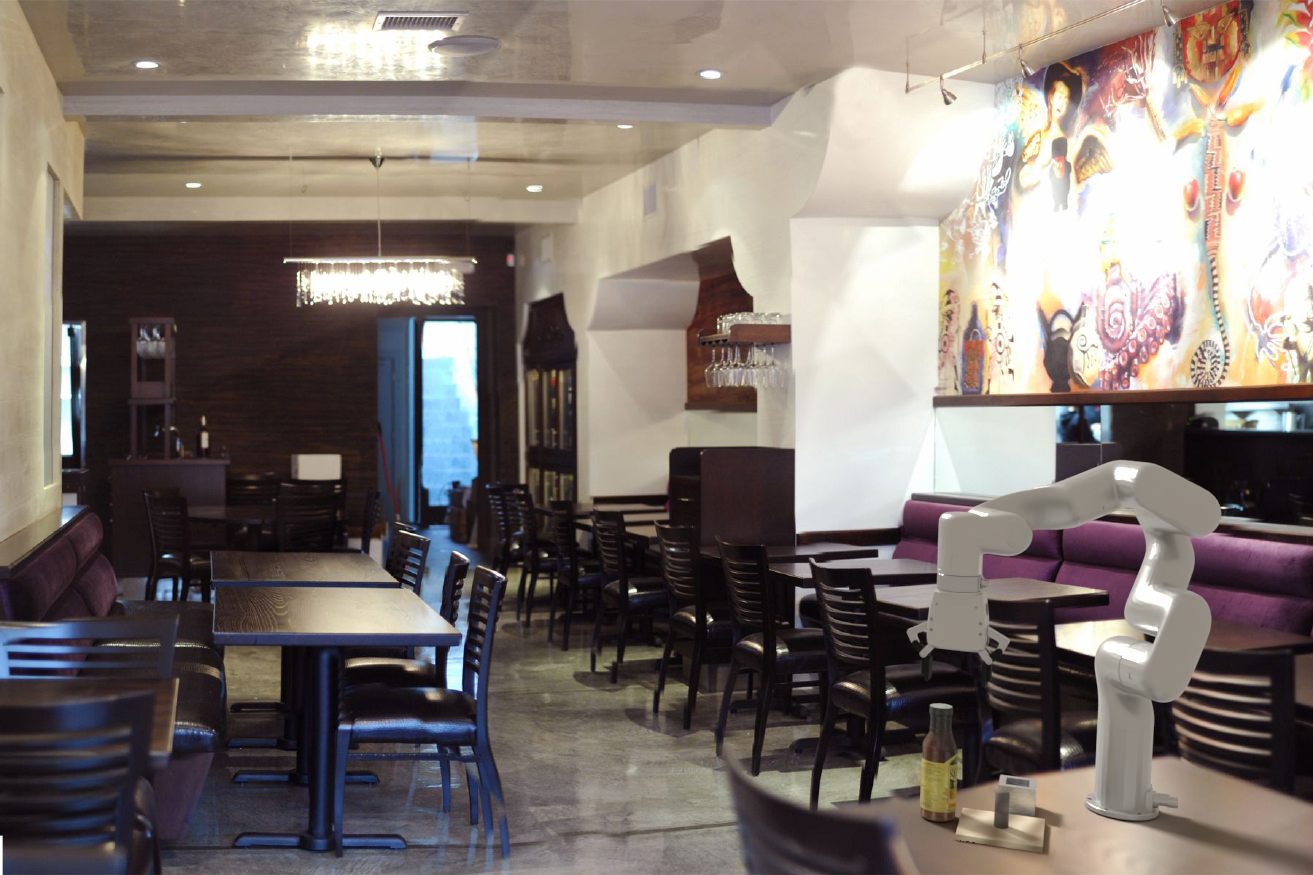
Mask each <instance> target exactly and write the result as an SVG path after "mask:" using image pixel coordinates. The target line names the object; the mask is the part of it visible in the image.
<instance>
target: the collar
mask: <svg viewBox="0 0 1313 875" xmlns="http://www.w3.org/2000/svg"><path fill="white" fill-rule="evenodd" d="M1037 780H1038V779H1035V778H1031V777H1022V776H1016V775H1015V776H1014V775H1006V774H1000V775H999V780H998V786H997V790H1007V791H1009V792H1010V802H1009V814H1013V815H1021V816H1028V817H1035V816H1036V805H1037V786H1038V785H1037V784H1038V782H1037ZM1035 818H1036V817H1035Z"/></svg>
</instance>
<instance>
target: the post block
mask: <svg viewBox="0 0 1313 875" xmlns="http://www.w3.org/2000/svg"><path fill="white" fill-rule="evenodd" d="M1009 802H1010V792H1009V791H1007V790H998V789H995V794H994V811H992V810H982V809H977V808H968V807H962V809H961V812H960V817H959V820H958V824H957V826H956V832H955V837H954V841H960V840H961V841H960V842H966V841H969V842H968V843H972V842H975V843H974V844H980V845H985V844H986V846H994V847H999V848H1006V849H1014V850H1021V851H1027V852H1034V853H1040V854H1043V853H1044V840H1045V839H1044V837H1045V827H1046V826H1045V824H1046V819H1045V818H1041V817H1028V816H1021V815H1013V814H1009ZM966 843H967V842H966Z"/></svg>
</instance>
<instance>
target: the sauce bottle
mask: <svg viewBox="0 0 1313 875" xmlns="http://www.w3.org/2000/svg"><path fill="white" fill-rule="evenodd" d="M928 712H929V715H930V718H929V719H930V720H929V731H928V733H927V735H926V736H925V737H924V739H923V741H922V750H921V751H922V756H921V764H920V765H921V766H920V768H921V770H920V788H919V789H920V790H919V791H920V792H919V793H920V796H919V797H920V798H919V806H920V809H919V810H920V816H921V817H922V818H923V819H925V820H927V821H930V822H936V823H938V822H939V823H945V822H947V823H948V822H951V821H953V820H954V819H955V817H956V810H957V795H958V794H957V793H958V792H957V791H958V788H957V786H958V761H959V751H958V747H957V745H956V741H955V738H954V735H953V728H952V727H953V726H952V721H953V719H952V718H953V715H954V707H953V705H950V704H947V703H942V702H941V703H940V702H939V703H931V704H929V710H928Z"/></svg>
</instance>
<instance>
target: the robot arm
mask: <svg viewBox="0 0 1313 875" xmlns="http://www.w3.org/2000/svg"><path fill="white" fill-rule="evenodd" d="M1122 509H1130V510H1134V513H1135V517H1136V519H1137V521H1138V523H1139V525H1140V527H1141V529H1142V532H1143V535H1144V539H1145V554H1144V558H1143V560H1142V563H1141V566H1140V569H1139V571H1138V573H1137V575H1136V578H1135V581H1134V583H1133V585H1132V588H1131V590H1130V592H1129V595H1128V597H1127V599H1126V603H1125V604H1124V605H1125V606H1124V612H1123V614H1124V620H1125V621H1126V624H1128V626H1129V627H1131V628H1132V629H1133V630H1136V631H1138V632H1140V633H1142V634H1145V635H1148V636H1150V637H1151V636H1152V637H1155V639H1154V641H1153V643H1152V642H1150V641H1147V640H1143V639H1140V638H1136V637H1134V636H1129V635H1113V636H1110V637H1108V638H1106V639H1105V640H1103V641H1102V643H1100V644H1099V646H1098V648H1097V649H1096V652H1095V657H1094V671H1095V679H1096V685H1097V697H1098V698H1097V699H1098V702H1097V704H1098V707H1097V709H1098V710H1097V724H1096V725H1097V726H1096V745H1095V746H1096V749H1095V750H1096V751H1095V768H1094V770H1095V771H1094V774H1095V775H1094V792H1091V793H1088V794H1087V795H1086V796H1084V805H1085V806H1086V807H1087V808H1088V810H1090V811H1092V812H1094V813H1096V814H1099V815H1100V816H1105V817H1108V818H1113V819H1117V820H1124V821H1137V822H1138V821H1148V820H1153V819H1156V818H1157V817H1158V816H1159V814H1160V808H1159V807H1166V808H1168V809H1169V808H1171V809H1178V807H1179V798H1178V797H1174V796H1170V795H1171V794H1170V793H1164V792H1156V790H1154V789H1153V785H1152V769H1153V768H1152V765H1153V748H1154V746H1153V745H1154V727H1155V713H1154V712H1155V711H1154V707H1153V703H1152V702H1153V701H1154V702H1158V703H1169V702H1173V701H1175V700H1177V699H1178V698H1179V697H1180V696H1182V694H1183V693H1184V692H1185V691H1186V689H1187V687H1188V685H1189V684H1190V681H1191V679H1192V676H1193V674H1194V672H1195V670H1196V667H1197V665H1198V663H1199V660H1200V658H1201V655H1202V652H1203V650H1204V647H1205V646H1206V643H1207V641H1208V638H1209V634H1210V632H1211V626H1212V614H1211V609H1210V606H1209V604H1208V602H1207V600H1205V598H1204V597H1203V596H1202V595H1200V594H1198V593H1196V592H1194V591H1191V590H1188V587H1189V584H1190V581H1191V578H1192V575H1193V572H1194V569H1195V562H1196V561H1195V558H1196V557H1195V556H1196V555H1195V551H1194V546H1193V544H1192V540H1191V538H1202V537H1205V536H1206V537H1207V536H1209V535H1210V534H1212V533H1213V532H1214V531H1215V530H1216V529H1217V528H1218V526H1219V524H1220V522H1221V519H1222V510H1221V505H1220V504H1219V501H1218V499H1217V498H1216V496H1214V494H1212V493H1211V492H1210V491H1208V490H1207V489H1205V488H1204V487H1202V486H1200V485H1198V484H1196V483H1194V482H1192V481H1189V480H1188V479H1186V478H1185V477H1182V476H1181V475H1179V474H1177V473H1175V472H1173V471H1172V470H1169V469H1167V468H1165V467H1163V466H1161V465H1158V464H1156V463H1152V462H1145V461H1135V460H1127V459H1118V460H1117V459H1116V460H1112V461H1109V462H1106V463H1103V464H1100V465H1097V466H1096V467H1092V468H1090V469H1088V470H1086V471H1083V472H1081V473H1078V474H1076V475H1073V476H1069V477H1067V478H1065V479H1062V480H1060V481H1057V482H1053V483H1050V484H1049V483H1048V484H1045V485H1040V486H1037V487H1032V488H1029V489H1024V490H1019V491H1015V492H1012V493H1011V492H1009V493H1007V494H1004V495H1000V496H997V497H996V498H992V499H990V500H988V501H985V502H982V503H980V504H978V505H976V506H973V507H972V508H970V509H969V510H967V511H947V512H943V513H942V514H940V517H939V519H938V535H937V536H938V538H937V564H936V566H937V568H936V570H937V571H936V573H937V574H936V588H933V589H932V592H931V596H930V603H929V608H928V615H927V620H926V621H925V622H922V623H920V624H918V625H914V626H913V627H910V628H908V629H907V630H906V634H907V636H908V638H909V641H910V642H911V646H912V647H913V648H914V649H915V650H916V652H918V654H919V656H920V657H921V670H920V672H921V673H920V674H921V675H924V677H923V678H924V681H926V682H928V681H930V679H931V678H932V677H933V676H932V675H933V674H932V673H933V655H932V653H931V652H932V651H933V650H934V649H940V650H941V649H942V650H950V651H960V652H966V653H967V652H969V653H978V655H979V656H980V657H981V659H982V660H983V663H982V664H981V678H980V680H981V682H980V683H981V684H980V686H981V687H982V688H987V686H988V685H989V683H991V682H992V679H993V663H994V662H995V661H997V659H999V658H1000V657H1002V655H1003V654H1004V652H1005V651H1006V648H1007V647H1008V645H1009V644H1010V642H1011V641H1010V638H1008V637H1007V636H1006V635H1004V634H1003V633H1000V632H999V631H997V630H996V629H994V628H993V627H991V626H990V614H989V613H990V611H989V610H990V609H989V602H988V601H989V600H988V597H987V596H988V595H987V593H986V591H983V589H985V588H991V584H992V583H991V582H992V581H991V579H987V578H985V577H984V574H983V562H984V559H983V558H984V556H983V555H986V554H989V555H997V556H1004V557H1011V556H1012V557H1013V556H1017V555H1019V554H1022V553H1023V552H1024V551H1026V550H1028V548H1029V547H1030V545H1031V543H1032V541H1033V536H1034V535H1033V531H1037V530H1066V529H1073V528H1078V527H1081V526H1083V525H1085V524H1088V523H1090V522H1092V521H1094V520H1097V519H1099V518H1102V517H1105V516H1107V515H1109V514H1112V513H1114V512H1117V511H1119V510H1122ZM1190 537H1191V538H1190ZM922 632H926V643H927V644H926V645H925V644H923V642H922V641H921V640H920V639H919V636H918V634H919V633H922ZM990 638H991V639H993V640H994V641H996V642H997V643H998V646H997V647H996V649H995V650H993V651H991V650H990V649H989V648H988V646H989V644H990Z"/></svg>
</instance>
